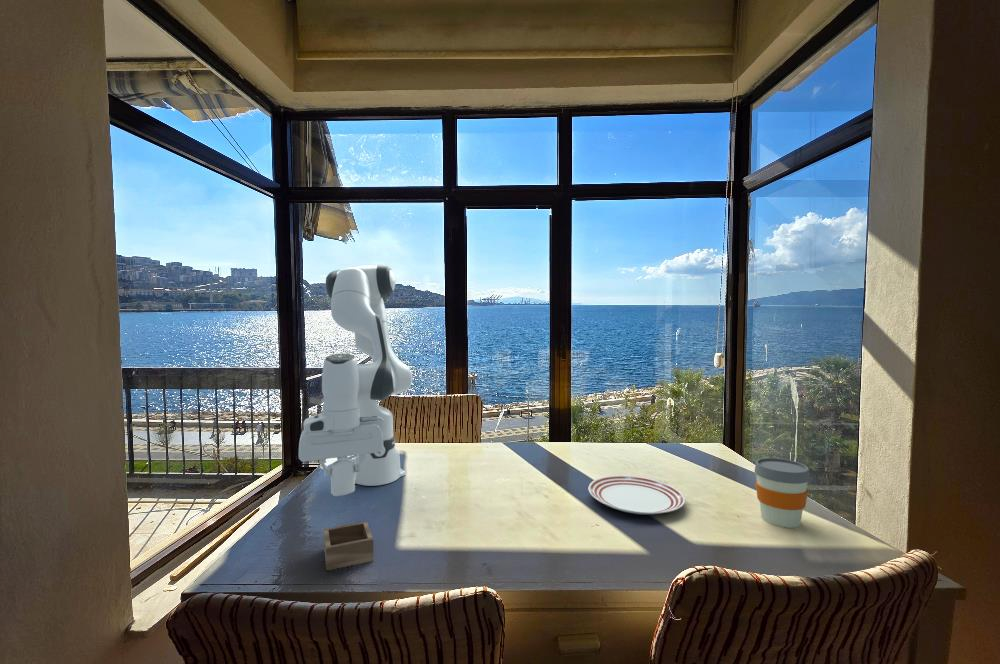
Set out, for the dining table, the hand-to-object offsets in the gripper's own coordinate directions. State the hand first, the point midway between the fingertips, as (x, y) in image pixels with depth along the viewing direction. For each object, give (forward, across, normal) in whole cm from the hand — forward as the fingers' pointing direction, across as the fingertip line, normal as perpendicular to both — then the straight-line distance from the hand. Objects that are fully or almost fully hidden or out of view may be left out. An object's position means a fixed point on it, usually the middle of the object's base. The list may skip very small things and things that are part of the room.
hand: (342, 473), depth 116 cm
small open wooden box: (+16, 0, +11) cm, 19 cm away
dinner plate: (+16, -81, +14) cm, 84 cm away
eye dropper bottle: (+5, 0, 0) cm, 5 cm away
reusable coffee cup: (+16, -108, +40) cm, 116 cm away
